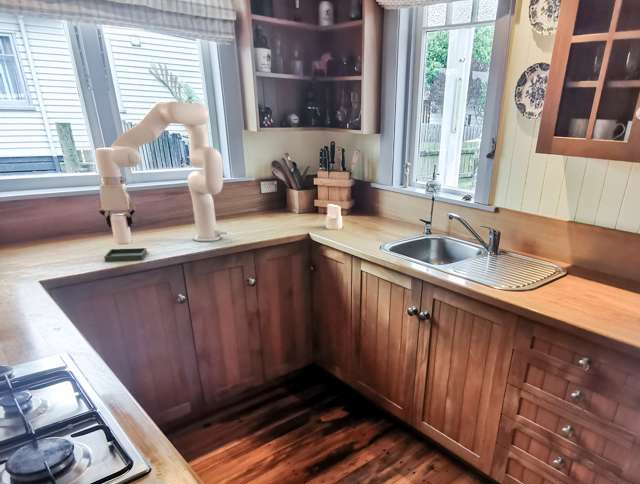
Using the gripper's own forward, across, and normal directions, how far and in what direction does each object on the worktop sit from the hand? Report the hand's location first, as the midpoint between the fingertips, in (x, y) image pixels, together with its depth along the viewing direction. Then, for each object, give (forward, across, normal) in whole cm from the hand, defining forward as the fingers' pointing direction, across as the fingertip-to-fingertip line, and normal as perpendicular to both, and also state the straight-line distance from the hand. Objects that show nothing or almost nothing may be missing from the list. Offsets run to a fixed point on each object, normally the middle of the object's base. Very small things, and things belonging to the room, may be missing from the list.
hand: (120, 225), depth 192 cm
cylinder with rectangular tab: (+13, -97, -43) cm, 107 cm away
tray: (+13, 0, 0) cm, 13 cm away
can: (+7, 0, 0) cm, 7 cm away
